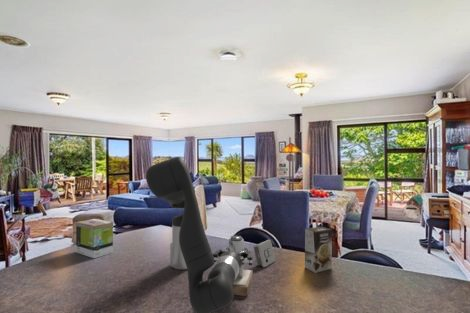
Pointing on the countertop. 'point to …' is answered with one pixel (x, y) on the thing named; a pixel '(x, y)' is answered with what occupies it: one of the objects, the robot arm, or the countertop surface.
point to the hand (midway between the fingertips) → (237, 249)
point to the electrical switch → (264, 253)
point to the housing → (237, 248)
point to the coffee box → (318, 249)
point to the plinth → (243, 283)
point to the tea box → (94, 237)
